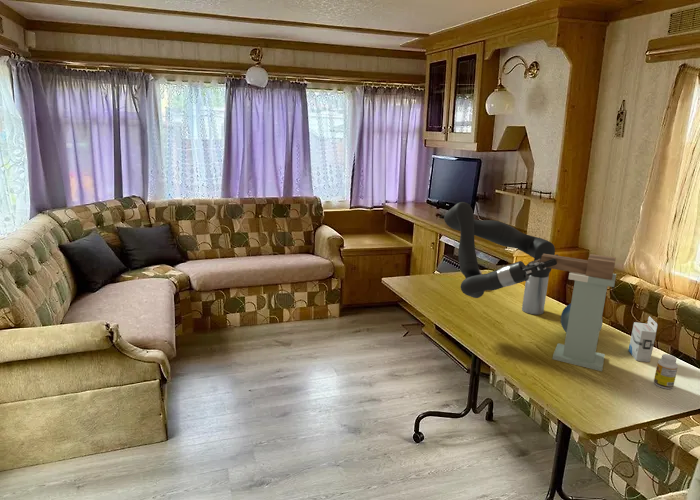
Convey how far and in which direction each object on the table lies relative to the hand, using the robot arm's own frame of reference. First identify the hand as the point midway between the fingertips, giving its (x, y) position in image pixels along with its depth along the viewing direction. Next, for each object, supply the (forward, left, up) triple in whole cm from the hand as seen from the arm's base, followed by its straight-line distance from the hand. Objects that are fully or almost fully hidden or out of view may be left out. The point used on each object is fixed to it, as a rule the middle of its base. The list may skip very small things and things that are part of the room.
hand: (557, 259), depth 174 cm
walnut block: (0, +6, -3) cm, 7 cm away
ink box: (-15, +31, -35) cm, 49 cm away
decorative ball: (-20, +10, -35) cm, 42 cm away
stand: (0, +12, -35) cm, 37 cm away
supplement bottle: (+5, +38, -35) cm, 52 cm away
